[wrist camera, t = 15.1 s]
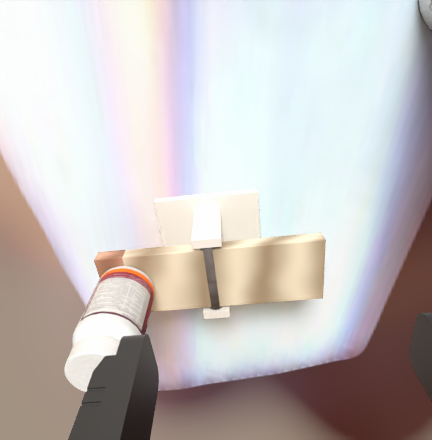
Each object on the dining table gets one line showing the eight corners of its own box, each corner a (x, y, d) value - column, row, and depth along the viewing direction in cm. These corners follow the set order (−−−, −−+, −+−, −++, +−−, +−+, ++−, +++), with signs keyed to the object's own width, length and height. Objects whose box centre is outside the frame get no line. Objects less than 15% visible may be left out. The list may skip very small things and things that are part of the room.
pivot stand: (257, 188, 41) (265, 218, 34) (262, 284, 47) (270, 324, 41) (155, 198, 41) (143, 230, 35) (174, 291, 48) (167, 333, 41)
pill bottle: (134, 316, 41) (107, 409, 31) (88, 288, 39) (43, 378, 29) (166, 284, 38) (149, 373, 28) (119, 253, 36) (82, 336, 27)
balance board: (321, 229, 37) (326, 238, 35) (319, 290, 41) (323, 301, 39) (98, 249, 38) (92, 259, 37) (116, 306, 42) (112, 317, 41)
